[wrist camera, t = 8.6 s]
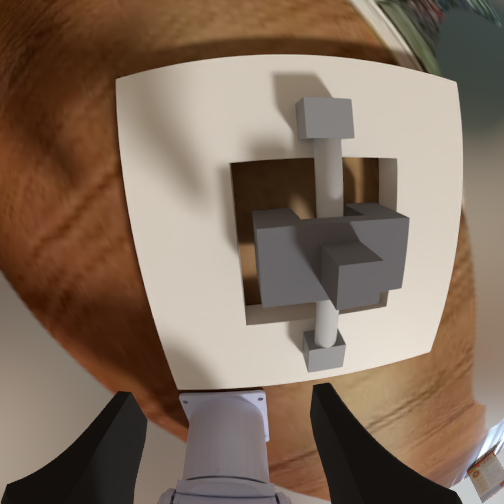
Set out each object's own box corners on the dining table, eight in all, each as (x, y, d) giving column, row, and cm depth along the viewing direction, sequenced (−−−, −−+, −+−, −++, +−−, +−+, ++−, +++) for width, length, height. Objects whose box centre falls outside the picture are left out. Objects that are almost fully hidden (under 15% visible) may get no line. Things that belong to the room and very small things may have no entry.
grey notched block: (372, 261, 18) (424, 310, 11) (257, 274, 17) (267, 338, 11) (375, 202, 16) (438, 231, 10) (251, 210, 16) (261, 248, 10)
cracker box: (467, 472, 57) (482, 503, 38) (466, 471, 56) (482, 503, 36) (492, 452, 54) (509, 482, 35) (493, 450, 53) (510, 481, 33)
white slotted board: (417, 336, 22) (440, 365, 18) (182, 368, 22) (173, 408, 18) (436, 86, 14) (474, 79, 10) (131, 87, 14) (100, 71, 10)
